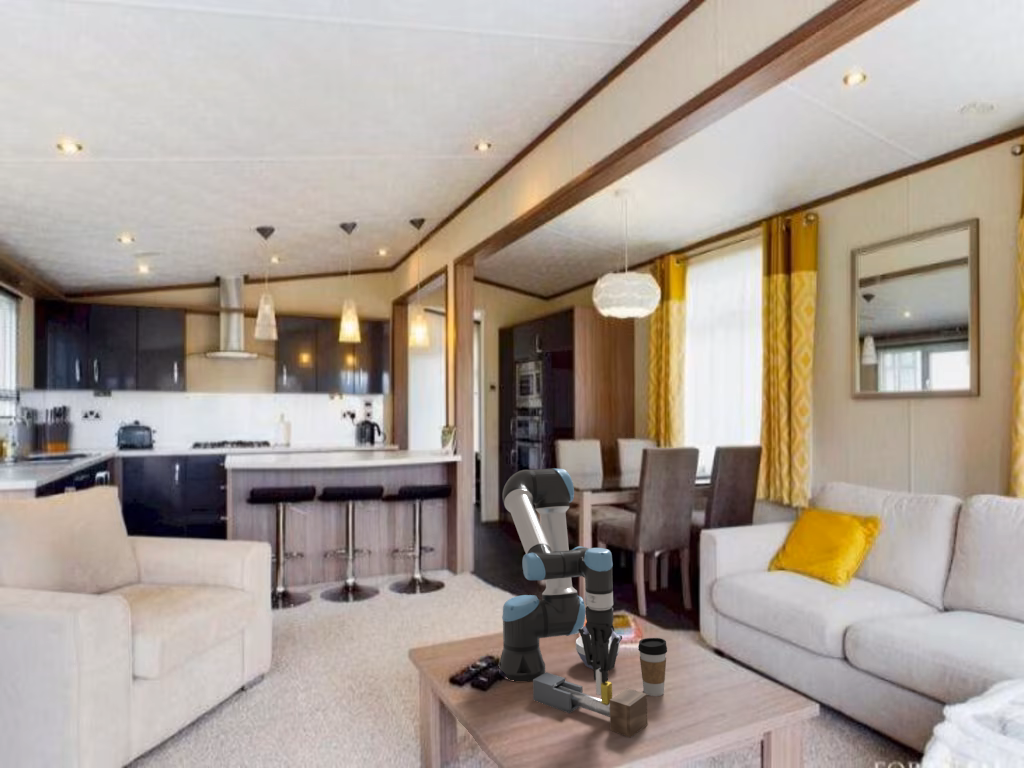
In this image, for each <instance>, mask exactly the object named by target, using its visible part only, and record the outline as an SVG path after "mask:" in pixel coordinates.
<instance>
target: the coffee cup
mask: <svg viewBox="0 0 1024 768" xmlns="http://www.w3.org/2000/svg"><path fill="white" fill-rule="evenodd" d="M637 647H638V648H637V649H638V651H639V662H640V670H641V678H642V679H641V680H642V688H643V693H645V694H647V696H651V697H659V696H662V695H664V693H665V680H666V668H667V667H666V665H667V657H666V655H667V652H668V647H667V641H666V640H665V639H664V638H660V637H646V638H642V639H640V640H639V641H638V646H637Z"/></svg>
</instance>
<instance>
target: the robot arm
mask: <svg viewBox="0 0 1024 768" xmlns="http://www.w3.org/2000/svg"><path fill="white" fill-rule="evenodd" d="M504 484H505V485H504V486H503V489H502V503H503V505H504V508H505V510H507V511H508V512H509V513H510V514H511V518H512V520H513V523H514V525H515V528H516V531H517V534H518V536H519V540H520V541H521V545H522V547H523V550H524V552H525V554H524V555H523V557H522V570H523V571H522V573H523V576H524V578H525V579H526V580H528V581H545V589H544V591H543V592H542V593H541V595H542V597H541V598H542V599H539V598H538V597H537V595H533V594H532V595H531V594H529V595H528V594H522V595H517V596H514V597H510V598H509V599H507V601H505V602H504V604H503V607H502V616H501V618H502V636H503V637H502V639H503V640H502V641H503V642H502V644H503V647H502V648H503V649H502V652H501V655H500V659H499V662H498V666H499V668H500V669H501V670H502V671H503V672H504V673H505V674H506V677H507V678H508V679H510V680H514V681H513V682H516V681H527V682H533V679H535V678H537V677H539V676H541V675H543V674H544V673H546V663H545V661H544V657H543V655H542V651H541V647H540V640H541V639H545V638H554V637H561V636H562V637H563V636H566V637H568V636H569V637H570V636H572V635H577V634H579V635H580V637H582V642H583V647H584V651H585V656H586V661H587V664H588V665H591V666H592V667H593V669H592V670H593V681H595V687H596V688H595V689H596V690H595V693H596V695H598V696H601V684H602V683H606V682H609V671H612V669H615V665H616V661H617V660H616V659H617V657H616V656H618V655H617V651H618V646H619V643H621V642H622V639H623V636H622V634H618V633H616V632H615V628H614V608H613V606H614V591H613V589H614V588H613V583H614V582H613V567H614V566H613V565H614V563H613V555H612V552H611V550H610V549H607V548H603V547H591V548H589V547H586V546H576V547H574V548H572V549H569V538H568V529H567V528H568V526H567V516H566V515H567V514H566V513H567V511H568V510H569V509H570V503H572V502H573V501H574V498H575V489H574V488H575V486H574V483H573V479H572V477H571V475H570V474H569V472H568V471H567V470H566V469H564V468H555V467H554V468H542V469H540V468H539V469H538V468H537V469H522V470H519V471H517V472H515V473H513V474H512V475H511V476H510V477H509V478H508V480H506V483H504ZM537 513H538V514H539V515H540V520H539V517H538V515H537ZM579 577H583V578H584V583H585V584H584V585H585V586H584V588H585V589H584V591H585V601H584V599H583V597H582V596H579V595H578V590H577V589H575V588H574V587H573V582H572V578H579ZM590 636H591V638H590ZM611 636H612V638H611V641H612V642H611V645H610V650H608V644H609V638H610V637H611ZM498 666H497V667H498ZM510 680H509V681H510Z"/></svg>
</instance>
